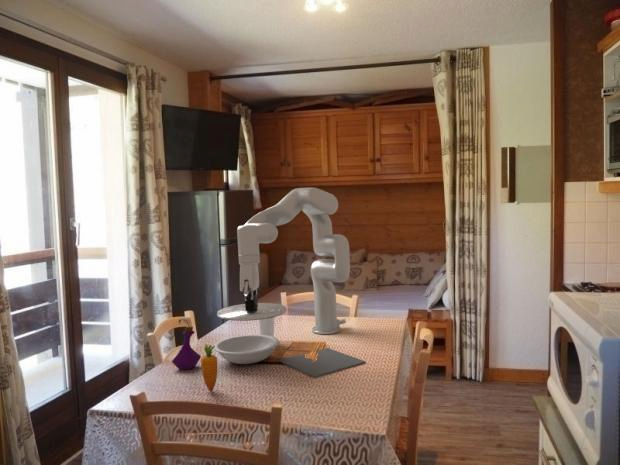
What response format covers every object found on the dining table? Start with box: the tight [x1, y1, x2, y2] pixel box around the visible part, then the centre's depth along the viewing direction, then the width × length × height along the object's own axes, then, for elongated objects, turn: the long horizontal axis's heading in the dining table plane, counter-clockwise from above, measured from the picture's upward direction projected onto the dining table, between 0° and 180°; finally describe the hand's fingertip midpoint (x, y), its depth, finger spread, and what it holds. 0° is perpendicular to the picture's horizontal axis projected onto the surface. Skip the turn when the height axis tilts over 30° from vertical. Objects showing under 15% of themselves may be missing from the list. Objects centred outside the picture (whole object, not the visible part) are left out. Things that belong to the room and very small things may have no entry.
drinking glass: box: [257, 317, 275, 337], centre depth 206 cm, size 7×7×15 cm
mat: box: [278, 347, 366, 379], centre depth 182 cm, size 22×22×1 cm
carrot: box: [200, 343, 218, 393], centre depth 158 cm, size 5×5×15 cm
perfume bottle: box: [171, 317, 202, 371], centre depth 182 cm, size 8×8×18 cm
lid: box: [216, 294, 287, 322], centre depth 185 cm, size 25×25×6 cm
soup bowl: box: [213, 334, 280, 365], centre depth 187 cm, size 24×24×7 cm
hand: (251, 308), depth 185 cm, fingers closed on lid, 4 cm apart
